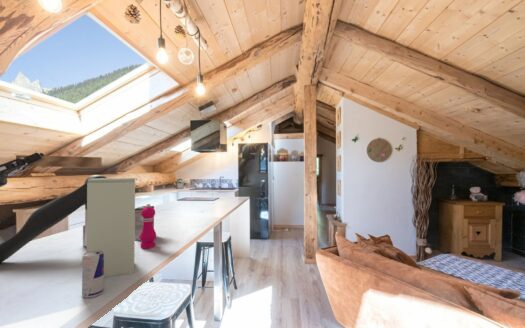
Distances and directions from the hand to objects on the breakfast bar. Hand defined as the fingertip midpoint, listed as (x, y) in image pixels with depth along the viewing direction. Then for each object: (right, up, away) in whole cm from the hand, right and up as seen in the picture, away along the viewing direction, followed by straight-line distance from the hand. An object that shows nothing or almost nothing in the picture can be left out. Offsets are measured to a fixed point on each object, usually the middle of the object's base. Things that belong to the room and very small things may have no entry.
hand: (41, 155), depth 87 cm
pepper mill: (+20, -42, +35) cm, 58 cm away
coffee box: (+12, -42, +49) cm, 66 cm away
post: (+20, -41, +7) cm, 46 cm away
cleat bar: (+5, -4, +2) cm, 7 cm away
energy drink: (+24, -42, -10) cm, 49 cm away
